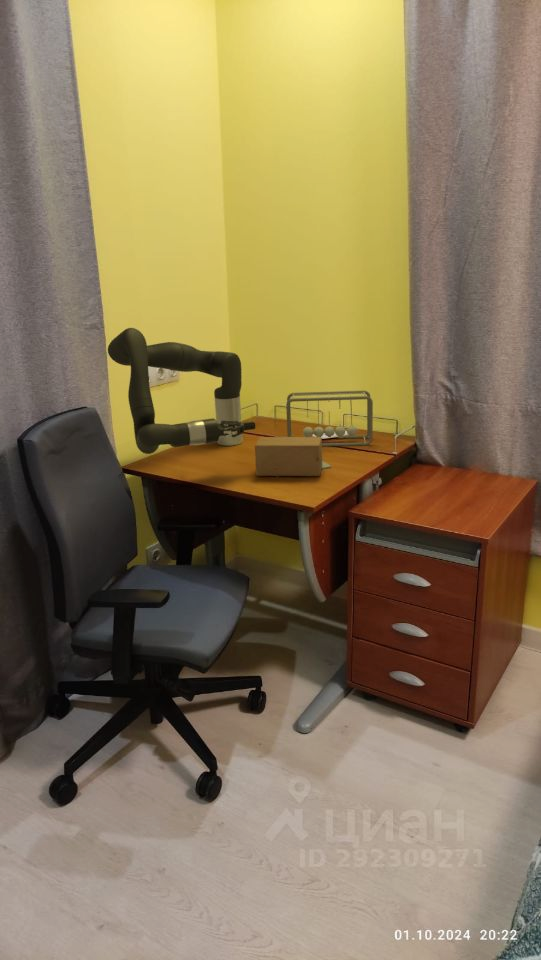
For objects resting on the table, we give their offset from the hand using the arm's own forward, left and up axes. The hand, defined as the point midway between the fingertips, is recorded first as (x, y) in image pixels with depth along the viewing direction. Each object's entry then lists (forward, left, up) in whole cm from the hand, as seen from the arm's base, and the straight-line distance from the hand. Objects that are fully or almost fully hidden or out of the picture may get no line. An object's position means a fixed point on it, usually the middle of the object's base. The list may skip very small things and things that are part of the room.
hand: (254, 425), depth 224 cm
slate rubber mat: (0, +12, -15) cm, 20 cm away
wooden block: (+3, 0, -10) cm, 10 cm away
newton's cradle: (-18, +34, -15) cm, 42 cm away
